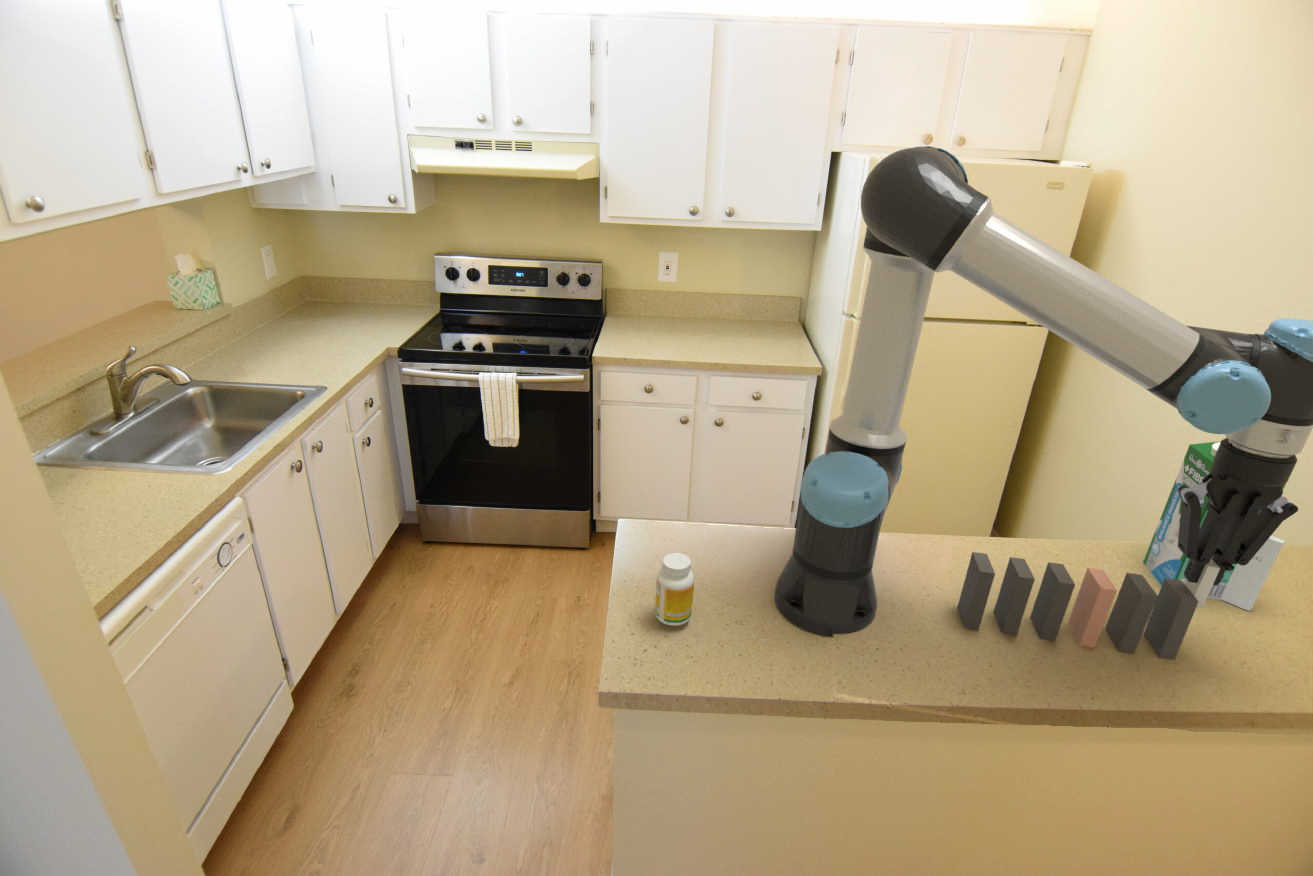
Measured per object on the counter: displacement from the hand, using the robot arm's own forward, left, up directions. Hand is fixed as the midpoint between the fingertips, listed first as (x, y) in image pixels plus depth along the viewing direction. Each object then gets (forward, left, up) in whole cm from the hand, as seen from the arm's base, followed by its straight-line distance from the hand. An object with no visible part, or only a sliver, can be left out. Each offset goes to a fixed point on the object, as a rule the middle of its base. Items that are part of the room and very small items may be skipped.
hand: (1191, 600), depth 95 cm
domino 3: (-17, 0, -8) cm, 19 cm away
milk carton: (+10, +19, -9) cm, 23 cm away
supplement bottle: (-70, -10, -9) cm, 72 cm away
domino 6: (-1, 0, -8) cm, 9 cm away
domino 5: (-7, 0, -8) cm, 11 cm away
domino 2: (-22, 0, -8) cm, 24 cm away
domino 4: (-12, 0, -8) cm, 15 cm away
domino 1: (-27, 0, -8) cm, 29 cm away
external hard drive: (+13, +15, -8) cm, 22 cm away
